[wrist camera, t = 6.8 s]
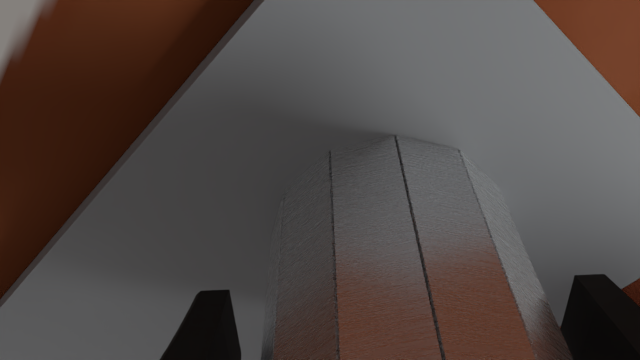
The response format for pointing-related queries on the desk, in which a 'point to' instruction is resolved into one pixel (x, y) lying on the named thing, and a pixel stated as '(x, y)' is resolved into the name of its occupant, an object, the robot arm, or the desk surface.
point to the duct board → (325, 135)
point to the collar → (402, 263)
